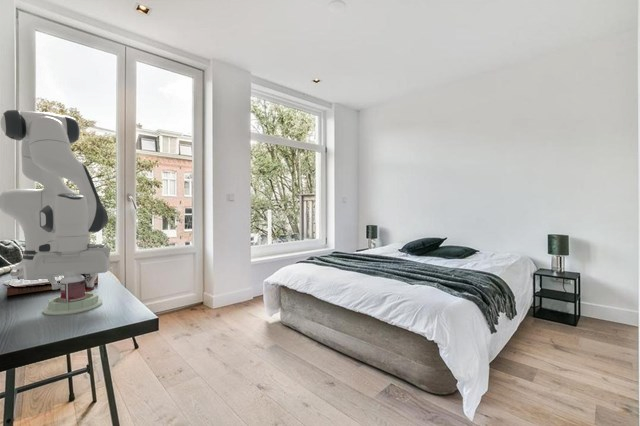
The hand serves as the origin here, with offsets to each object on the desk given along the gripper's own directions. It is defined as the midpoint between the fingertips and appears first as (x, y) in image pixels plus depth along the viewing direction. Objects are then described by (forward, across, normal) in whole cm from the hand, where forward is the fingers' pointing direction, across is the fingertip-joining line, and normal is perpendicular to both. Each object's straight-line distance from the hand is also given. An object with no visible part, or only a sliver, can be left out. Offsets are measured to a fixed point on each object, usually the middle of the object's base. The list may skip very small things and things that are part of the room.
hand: (73, 287), depth 101 cm
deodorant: (+6, +7, -23) cm, 25 cm away
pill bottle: (+6, 0, 0) cm, 6 cm away
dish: (+6, 0, 0) cm, 6 cm away
